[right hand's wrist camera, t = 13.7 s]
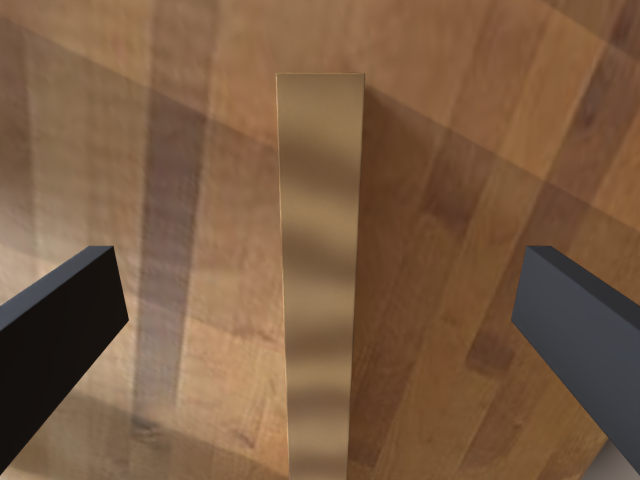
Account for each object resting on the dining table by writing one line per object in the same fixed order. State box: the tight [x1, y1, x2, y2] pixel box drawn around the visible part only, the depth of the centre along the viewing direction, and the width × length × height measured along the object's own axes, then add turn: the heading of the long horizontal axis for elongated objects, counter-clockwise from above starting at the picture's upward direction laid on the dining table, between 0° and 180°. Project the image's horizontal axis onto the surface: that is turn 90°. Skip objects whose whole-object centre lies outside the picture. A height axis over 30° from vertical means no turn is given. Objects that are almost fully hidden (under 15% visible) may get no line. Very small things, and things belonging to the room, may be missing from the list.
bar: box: [276, 73, 365, 480], centre depth 40 cm, size 68×6×8 cm, turn 0°
